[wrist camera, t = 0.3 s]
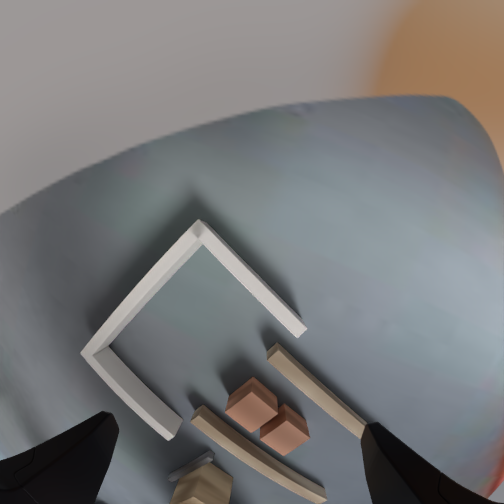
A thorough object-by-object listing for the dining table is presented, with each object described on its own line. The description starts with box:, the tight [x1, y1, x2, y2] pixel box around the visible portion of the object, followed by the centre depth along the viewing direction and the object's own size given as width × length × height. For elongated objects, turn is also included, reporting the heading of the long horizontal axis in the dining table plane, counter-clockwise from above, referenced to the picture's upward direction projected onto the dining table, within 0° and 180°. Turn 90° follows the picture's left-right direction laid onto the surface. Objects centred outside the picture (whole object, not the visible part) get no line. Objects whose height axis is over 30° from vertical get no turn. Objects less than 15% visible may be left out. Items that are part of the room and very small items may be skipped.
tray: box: [80, 219, 307, 441], centre depth 22 cm, size 16×11×3 cm
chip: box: [225, 377, 278, 433], centre depth 22 cm, size 3×3×3 cm
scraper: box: [167, 450, 233, 504], centre depth 20 cm, size 7×5×6 cm, turn 135°
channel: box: [190, 342, 367, 504], centre depth 22 cm, size 10×18×2 cm, turn 45°
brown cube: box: [260, 403, 310, 456], centre depth 21 cm, size 3×3×3 cm
